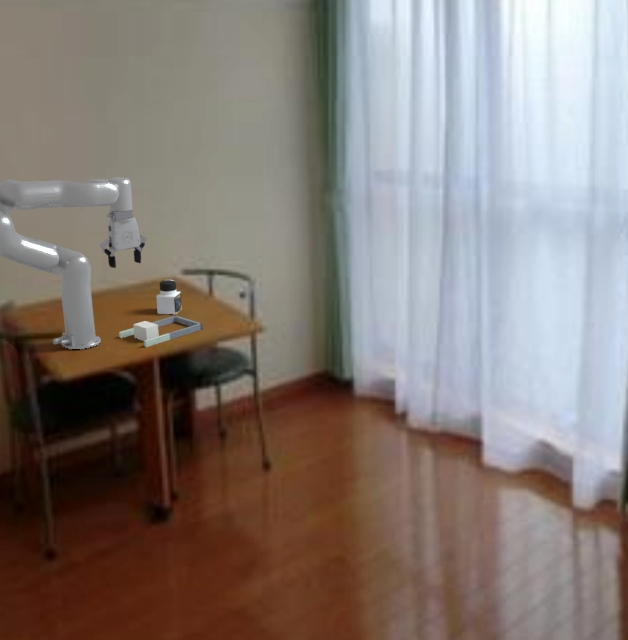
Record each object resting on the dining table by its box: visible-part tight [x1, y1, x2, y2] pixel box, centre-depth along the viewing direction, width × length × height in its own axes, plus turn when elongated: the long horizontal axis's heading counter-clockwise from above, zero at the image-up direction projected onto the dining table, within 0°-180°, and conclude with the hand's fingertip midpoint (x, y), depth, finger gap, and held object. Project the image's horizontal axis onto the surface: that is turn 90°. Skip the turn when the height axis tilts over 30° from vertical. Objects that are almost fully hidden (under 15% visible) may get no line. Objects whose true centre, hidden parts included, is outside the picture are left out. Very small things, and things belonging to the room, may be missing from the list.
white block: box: [132, 320, 160, 342], centre depth 287 cm, size 5×7×5 cm
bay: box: [118, 314, 204, 348], centre depth 292 cm, size 24×15×2 cm, turn 137°
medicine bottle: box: [155, 279, 183, 316], centre depth 315 cm, size 7×7×12 cm
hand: (125, 264), depth 288 cm, fingers open, 9 cm apart
